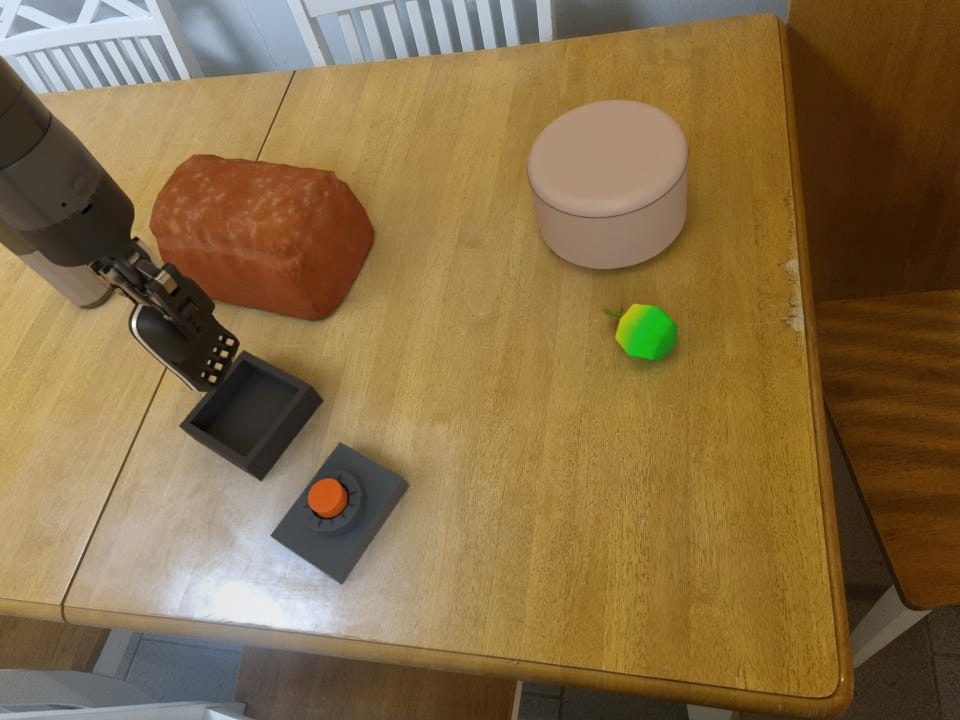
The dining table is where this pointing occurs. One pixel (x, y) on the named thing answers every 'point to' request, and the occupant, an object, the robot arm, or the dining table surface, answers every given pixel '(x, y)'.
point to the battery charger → (187, 344)
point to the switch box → (342, 513)
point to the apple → (645, 331)
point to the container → (610, 183)
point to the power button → (327, 498)
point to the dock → (252, 414)
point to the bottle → (56, 271)
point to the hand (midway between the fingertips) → (180, 323)
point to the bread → (263, 233)
